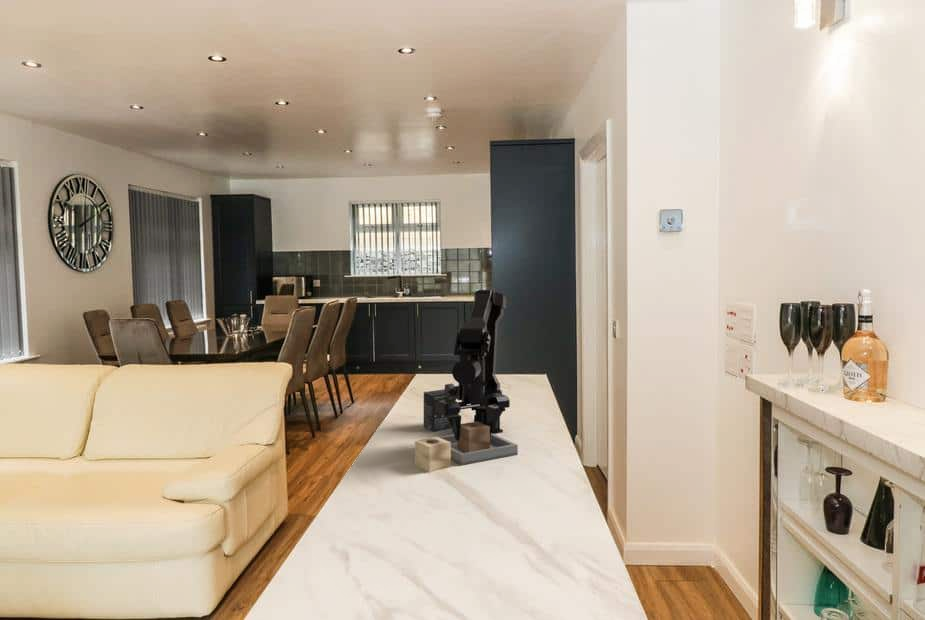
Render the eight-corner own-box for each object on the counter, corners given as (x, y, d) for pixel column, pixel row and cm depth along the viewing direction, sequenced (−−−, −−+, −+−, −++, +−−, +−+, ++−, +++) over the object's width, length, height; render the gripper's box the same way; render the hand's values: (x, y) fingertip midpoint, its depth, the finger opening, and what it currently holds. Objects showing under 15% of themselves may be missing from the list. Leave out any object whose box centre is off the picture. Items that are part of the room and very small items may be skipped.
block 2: (477, 444, 164) (477, 421, 163) (489, 450, 159) (489, 426, 158) (457, 447, 161) (457, 424, 161) (469, 454, 156) (469, 429, 155)
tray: (483, 438, 171) (483, 429, 171) (517, 454, 157) (517, 444, 157) (430, 447, 163) (430, 438, 163) (461, 465, 149) (461, 455, 149)
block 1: (436, 460, 153) (435, 436, 152) (450, 467, 148) (450, 441, 148) (415, 465, 149) (415, 440, 149) (429, 472, 145) (429, 446, 144)
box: (433, 432, 178) (432, 395, 177) (423, 427, 182) (422, 391, 182) (456, 428, 182) (456, 391, 181) (446, 423, 187) (446, 388, 186)
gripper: (487, 368, 170) (487, 425, 171) (425, 375, 161) (425, 435, 162) (511, 374, 160) (510, 435, 162) (446, 382, 151) (446, 446, 152)
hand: (473, 437), depth 160 cm, fingers open, 9 cm apart
